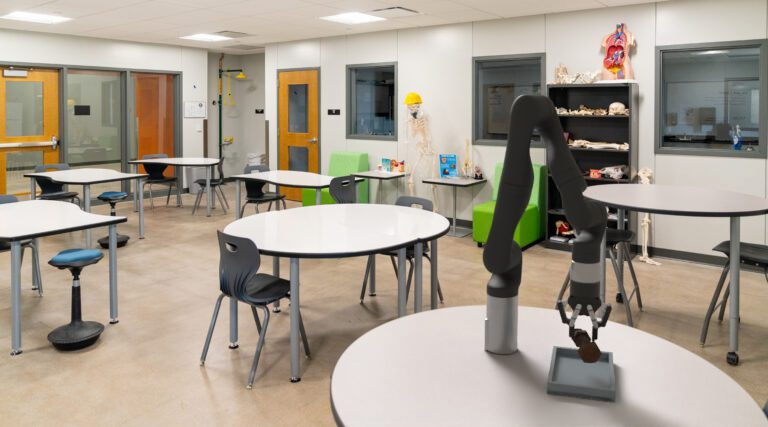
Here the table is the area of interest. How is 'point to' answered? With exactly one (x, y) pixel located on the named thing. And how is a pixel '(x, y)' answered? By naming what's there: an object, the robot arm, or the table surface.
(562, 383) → the tray
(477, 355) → the table surface
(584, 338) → the bolt
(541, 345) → the table surface
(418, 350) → the table surface
